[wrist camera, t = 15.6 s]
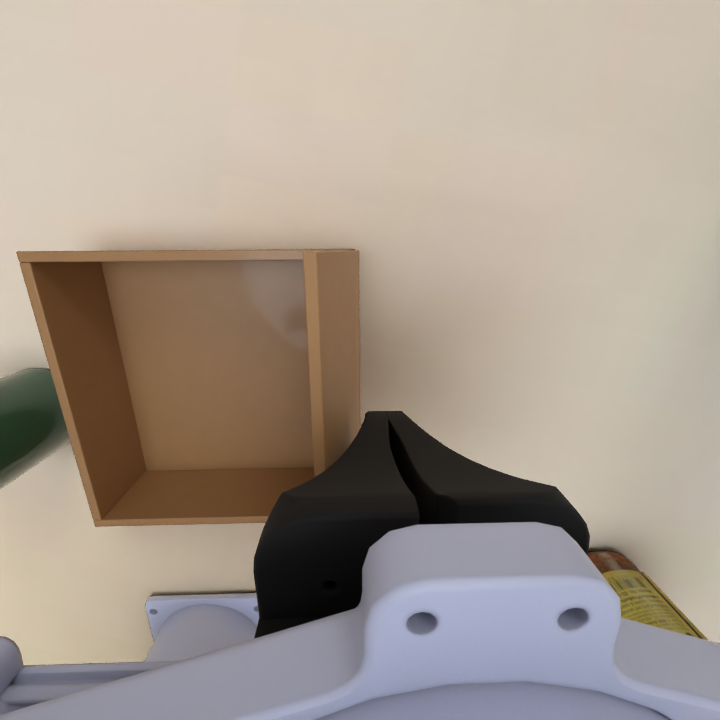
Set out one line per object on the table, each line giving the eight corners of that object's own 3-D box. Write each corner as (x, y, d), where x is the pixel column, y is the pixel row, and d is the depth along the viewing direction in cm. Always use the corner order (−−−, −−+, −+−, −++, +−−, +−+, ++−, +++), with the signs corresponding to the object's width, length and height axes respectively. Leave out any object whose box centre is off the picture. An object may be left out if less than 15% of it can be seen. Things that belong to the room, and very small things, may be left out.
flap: (351, 250, 13) (359, 250, 13) (354, 529, 17) (361, 529, 17) (302, 251, 7) (316, 251, 7) (325, 681, 11) (334, 683, 11)
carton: (354, 249, 18) (355, 249, 14) (356, 468, 22) (357, 520, 17) (96, 250, 17) (15, 251, 13) (145, 472, 21) (94, 527, 17)
